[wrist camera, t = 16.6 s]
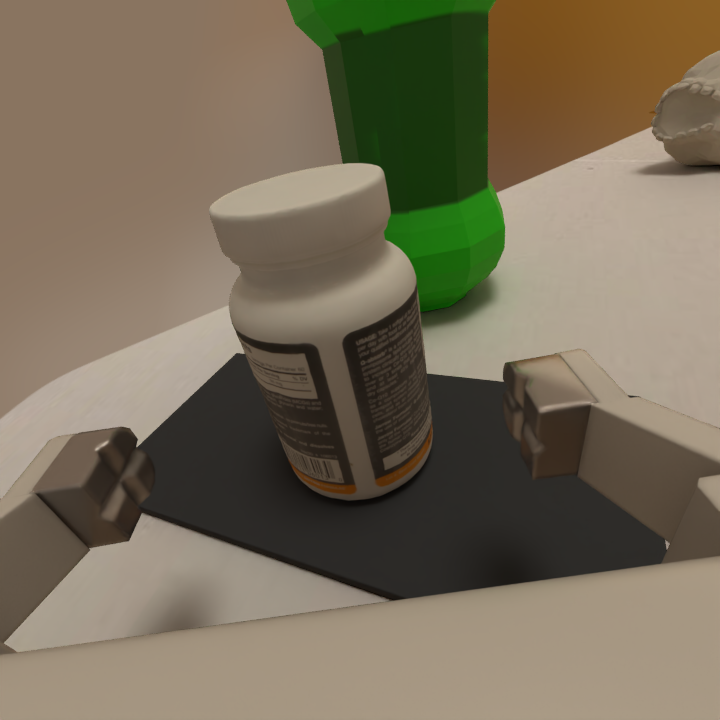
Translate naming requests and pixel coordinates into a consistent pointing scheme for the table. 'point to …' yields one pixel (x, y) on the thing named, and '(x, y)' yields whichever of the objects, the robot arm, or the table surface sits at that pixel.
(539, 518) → the slate mat
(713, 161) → the white lumpy rounded piece
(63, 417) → the table surface
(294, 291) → the pill bottle
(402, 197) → the plastic bottle
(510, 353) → the table surface
